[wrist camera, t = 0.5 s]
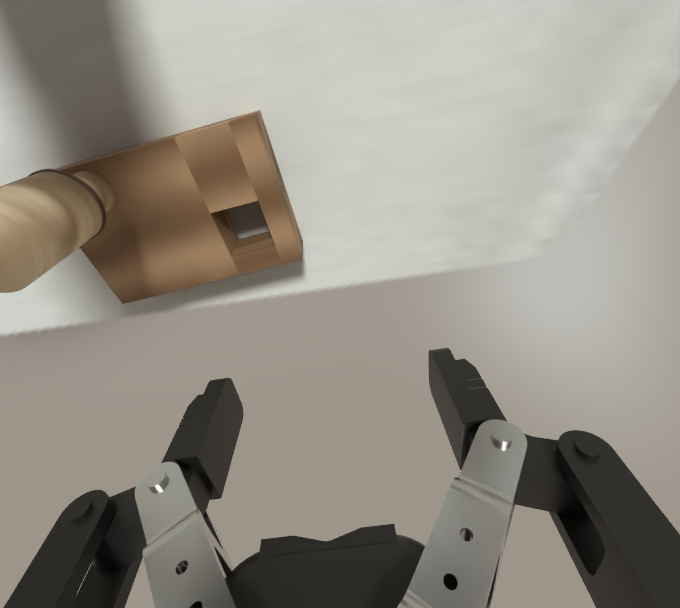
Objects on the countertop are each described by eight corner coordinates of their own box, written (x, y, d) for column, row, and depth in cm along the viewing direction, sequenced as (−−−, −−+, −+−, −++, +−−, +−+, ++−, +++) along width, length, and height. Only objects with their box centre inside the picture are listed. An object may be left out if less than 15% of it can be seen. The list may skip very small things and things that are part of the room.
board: (60, 167, 29) (28, 179, 25) (259, 110, 27) (253, 115, 24) (140, 282, 36) (123, 303, 32) (302, 241, 34) (302, 259, 31)
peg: (41, 167, 25) (-111, 220, 16) (102, 149, 25) (-18, 194, 16) (85, 228, 28) (-22, 302, 19) (141, 213, 28) (58, 282, 18)
